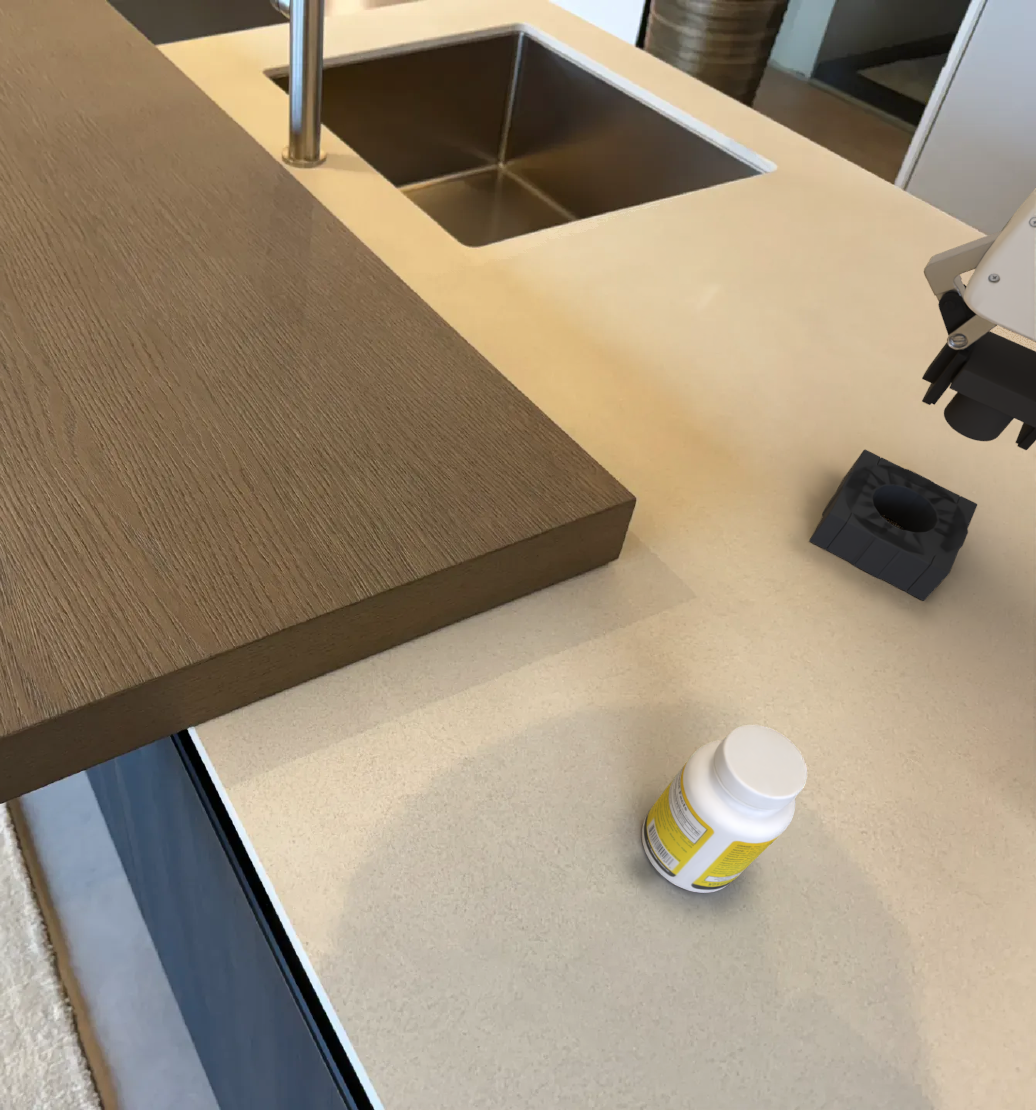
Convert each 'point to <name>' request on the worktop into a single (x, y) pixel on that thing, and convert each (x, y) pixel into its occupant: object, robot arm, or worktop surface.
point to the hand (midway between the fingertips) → (979, 411)
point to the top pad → (993, 389)
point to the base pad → (885, 548)
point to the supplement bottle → (724, 808)
